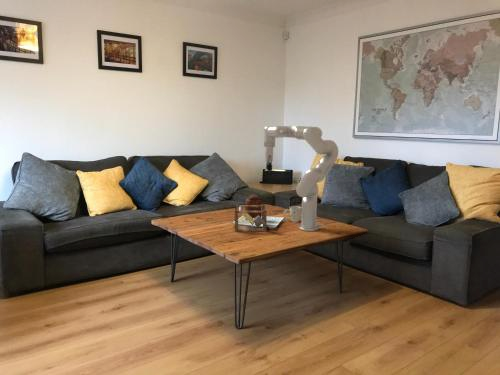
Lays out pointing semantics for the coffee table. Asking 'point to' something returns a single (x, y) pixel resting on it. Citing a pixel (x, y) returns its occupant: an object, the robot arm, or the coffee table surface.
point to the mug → (294, 213)
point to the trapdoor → (246, 215)
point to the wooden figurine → (253, 201)
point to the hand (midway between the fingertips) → (269, 170)
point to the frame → (247, 228)
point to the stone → (258, 221)
